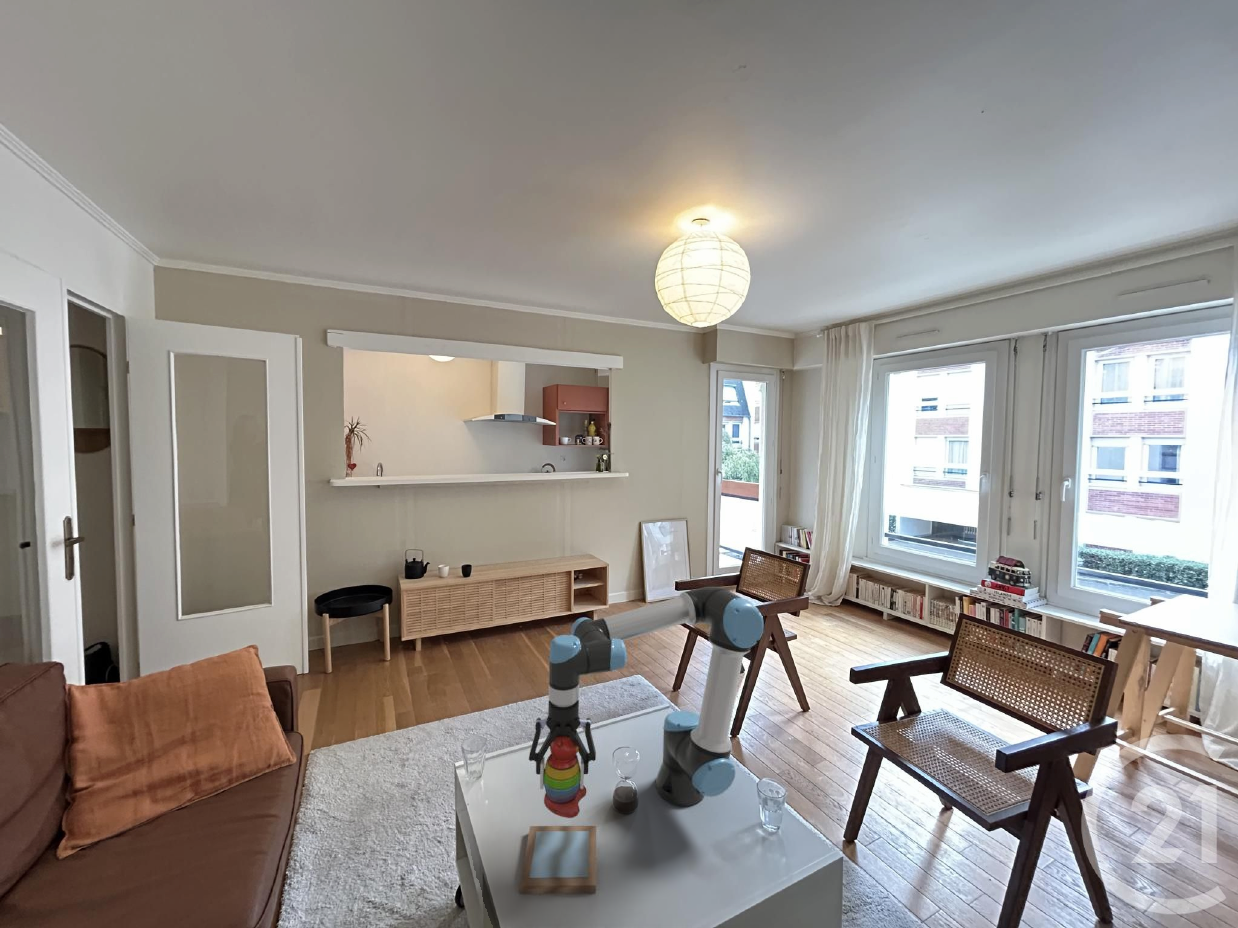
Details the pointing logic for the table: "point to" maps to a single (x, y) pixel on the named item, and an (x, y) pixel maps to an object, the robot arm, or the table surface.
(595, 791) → the table surface
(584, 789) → the stacking bear
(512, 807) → the table surface
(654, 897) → the table surface
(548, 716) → the robot arm
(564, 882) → the base board
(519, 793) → the table surface
